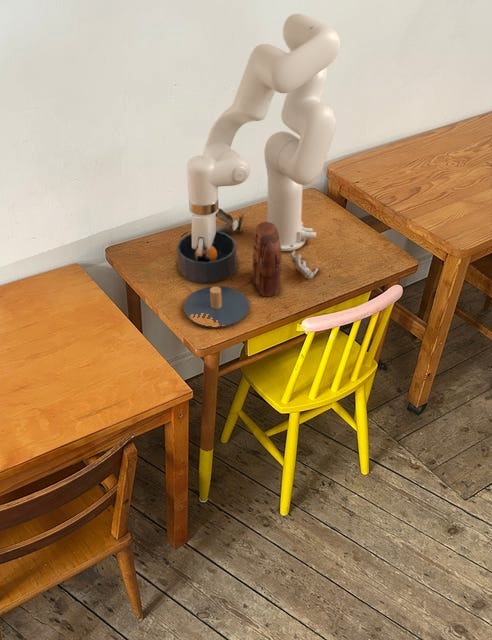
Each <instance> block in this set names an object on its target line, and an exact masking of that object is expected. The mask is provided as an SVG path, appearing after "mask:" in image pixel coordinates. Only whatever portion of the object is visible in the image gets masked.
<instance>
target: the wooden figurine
mask: <svg viewBox="0 0 492 640" xmlns="http://www.w3.org/2000/svg"><path fill="white" fill-rule="evenodd" d="M253 243H254V246H253V251H252V283H253V284H254V285H255V288H256V290H257V291H259V293H260V295H261V296H262V297H270V296H275V295H277V294H278V293H279V291H280V284H281V273H282V267H281V266H282V251H281V245H280V241H279V232H278V230H277V228H276V226H275V225H274V224H272V223H270V222H267V221H262V222H260V223H258V224H257V225H256V227H255V231H254V237H253Z"/></svg>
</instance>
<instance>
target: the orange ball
mask: <svg viewBox="0 0 492 640" xmlns="http://www.w3.org/2000/svg"><path fill="white" fill-rule="evenodd" d="M204 247H206V246H205V245H204ZM197 253H198V248H197V250H196V252H195V258H196V260H197V261H198V258H197ZM203 253H204V254H206V250H203ZM208 258H210V261H216V259H217V251H216V249H215V248H214V247H213V246H212V245H211V248H210V249H209V255H208Z"/></svg>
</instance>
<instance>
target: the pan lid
mask: <svg viewBox="0 0 492 640" xmlns="http://www.w3.org/2000/svg"><path fill="white" fill-rule="evenodd" d="M249 306H250V304H249V301H248V298H247V297H246V296H245V295H244V294H243V293H242V292H241V291H239V290H237V289H235V288H233V287H228V286H220V285H216V286H207V287H204V288H200V289H198V290H196V291H194V292H192V293H191V294H190V295H189V296H188V297H187V298H186V300H185V302H184V305H183V310H184V314H185V316H186V317H187V319H188V320H189V321H191V322H192V323H194V324H196V325H198V326H200V327H204V328H209V329H211V328H212V329H216V328H225V327H229V326H233V325H235V324H237V323H239V322H240V321H242V320H243V319H244V318H245V317H246V315H247V314H248V311H249V308H250V307H249ZM201 313H204V314H203V316H202V318H205V316H206V314H209V315H208V317H207V319H210V318H211V317H212V318H213V319H212V320H213V321H214V323H215V322H216V320H218V323H219V325H220V326H218V327H212V326H205V325H201V324H198V323H196V322H194V321H192V320H191V319H190V315H191V314H194V316H193V318H194V317H195V315H196V314H198V317H197V318H199V317H200V315H201ZM188 316H189V317H188ZM222 325H225V326H222Z"/></svg>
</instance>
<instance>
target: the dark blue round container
mask: <svg viewBox="0 0 492 640" xmlns="http://www.w3.org/2000/svg"><path fill="white" fill-rule="evenodd" d="M212 244H215V249H216V251H217V259H216V261H210V262H200V261H197V260H196V258H195V252H196V250H197V248H198V245H197V248H196V249H193V248H192V232H191V233H187V234H186V235H184V236H183V237H182V238H180V239H179V241H178V243H177V246H176V253H177V255H176V256H177V265H178V269H179V273H180V274H181V275H182V276H183V277H184V278H185V279H187V280H189V281H191V282H194V283H200V284H212V283H218V282H221V281H223V280H226V279H227V278H230V277H231V276H232V275H233V274H234V273H235V271H236V269H237V263H238V262H237V259H238V258H237V244H236V242H235V239H234V238H233V237H231V236H230V235H229V234H228V233H222V232H219V231H216V234H215V237H214V243H212Z"/></svg>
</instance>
